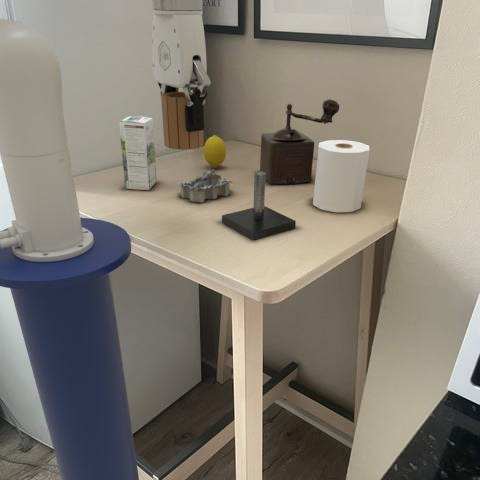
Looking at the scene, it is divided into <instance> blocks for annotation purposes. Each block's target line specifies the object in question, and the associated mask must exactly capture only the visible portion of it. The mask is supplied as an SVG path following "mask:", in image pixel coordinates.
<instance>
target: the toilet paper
mask: <svg viewBox="0 0 480 480" xmlns="http://www.w3.org/2000/svg"><path fill="white" fill-rule="evenodd" d="M370 151H371V149H370V145H368V144H365V143H363V142H360V141H354V140H347V139H327V140H324V141H321V142H318V150H317V159H316V169H315V177H314V178H315V180H314V187H313V188H314V189H313V200H312V206H314V207H316V208H318V209H319V210H321V211H326V212H330V213H331V212H332V213H337V214H338V213H352V212H356V211H358V210H360V209H361V208H362V202H363V195H364V190H365V183H366V177H367V176H366V175H367V170H368V163H369V158H370Z"/></svg>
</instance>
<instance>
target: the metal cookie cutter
mask: <svg viewBox="0 0 480 480" xmlns="http://www.w3.org/2000/svg"><path fill="white" fill-rule="evenodd" d="M231 183H233V181H231V179H227V178H226V177H225V178H223V179H222V176H221V174H220V173H218V172H216V171H215V169H209V170H207V171H204V172H202V175H200V176H196V177H195V178H193V179H188V180H187V181H184V182H180V183H178V186H179V187H180V196H181V198H183V199H185V198H187V199H189V201H191V202H193V203H194V202H197V203H204V202H205V200H207V199H212V200H216V199H218V196H224V197H227V196H229V194H230V184H231Z"/></svg>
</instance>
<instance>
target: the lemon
mask: <svg viewBox="0 0 480 480" xmlns="http://www.w3.org/2000/svg"><path fill="white" fill-rule="evenodd" d="M226 156H227V148H226V144H225V141H224V140H223V139H222V138H221V137H219V136H218V135H216V134H213V135H212V136H210V137H208V138H207V139H206V141H205V142H204V145H203V157H204V160H205V162H206V163H207V164H209V165H210V166H211V167H212V168H213V169H216V168H218V167H219V166H220V165H222V164H223V163H224V161H225V160H226Z"/></svg>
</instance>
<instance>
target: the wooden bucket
mask: <svg viewBox="0 0 480 480" xmlns="http://www.w3.org/2000/svg"><path fill="white" fill-rule="evenodd" d="M193 93H194V91H191V94H192V95H193ZM160 98H161V113H162V114H161V115H162V129H163V144H164V147H165V148H168V149H170V150H180V151H182V150H184V151H186V150H195V149H200V148H202V147H204V146H205V137H204V136H205V132H204V129H205V128H204V129H203V130H201V131H194V132H187V131H186V120H185V106H188V105H187V101H186V97H185V93H184V91H178V92H168V93H164V94H162V95H160Z"/></svg>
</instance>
